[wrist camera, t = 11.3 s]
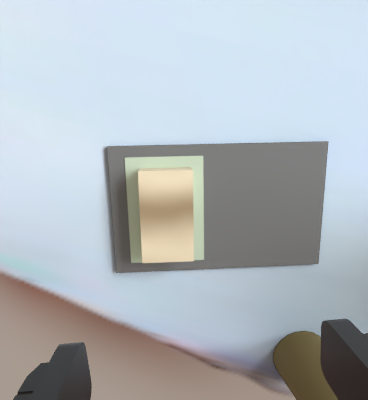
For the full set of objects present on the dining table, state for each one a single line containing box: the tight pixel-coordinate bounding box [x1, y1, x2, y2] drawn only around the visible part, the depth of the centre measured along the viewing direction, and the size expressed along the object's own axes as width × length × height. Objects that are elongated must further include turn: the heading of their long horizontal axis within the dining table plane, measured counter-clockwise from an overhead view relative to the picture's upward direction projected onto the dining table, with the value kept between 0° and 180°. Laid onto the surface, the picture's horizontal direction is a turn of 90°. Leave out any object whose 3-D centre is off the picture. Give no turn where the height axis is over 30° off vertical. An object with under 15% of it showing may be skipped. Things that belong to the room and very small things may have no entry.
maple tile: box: [138, 167, 194, 263], centre depth 26 cm, size 8×4×2 cm, turn 1°
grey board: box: [107, 141, 328, 273], centre depth 28 cm, size 20×12×1 cm, turn 91°
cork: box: [273, 331, 338, 400], centre depth 27 cm, size 6×6×11 cm
